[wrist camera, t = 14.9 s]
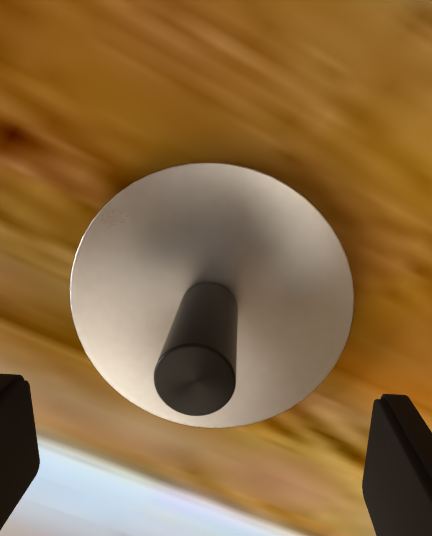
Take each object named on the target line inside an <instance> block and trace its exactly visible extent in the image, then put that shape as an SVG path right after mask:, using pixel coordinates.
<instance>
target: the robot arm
mask: <svg viewBox="0 0 432 536" xmlns="http://www.w3.org/2000/svg"><path fill="white" fill-rule="evenodd" d="M39 464H40V459H39V451H38V444H37V437H36V429H35V422H34V415H33V407H32V400H31V393H30V386H29V383H28V381H25V380H24V378H23V377H22V376H21V375H14V374H0V530H1V528H2V527H3V525H4V524H5V522H6V521H7V519H8V518H9V516H10V514H11V513H12V511H13V510H14V508H15V507H16V505H17V504H18V502H19V501H20V499H21V498H22V496H23V494H24V493H25V491H26V490H27V488H28V487H29V485H30V484H31V482H32V481H33V479H34V478H35V476H36V474H37V472H38V469H39ZM362 489H363V496H364V500H365V503H366V505H367V508H368V511H369V514H370V517H371V520H372V523H373V526H374V529H375V532H376V535H377V536H432V432H431V431H430V429H429V428H428V426H427V425H426V423H425V422H424V420H423V419H422V417H421V416H420V414H419V412H418V411H417V409H416V408H415V406H414V405H413V403H412V402H411V400H410V399H409V397H408V396H406V395H394V394H383V395H382V397H381V400H380V399H376V400H375V401H374V404H373V411H372V418H371V425H370V432H369V439H368V446H367V453H366V460H365V467H364V475H363V482H362Z"/></svg>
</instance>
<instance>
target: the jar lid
mask: <svg viewBox="0 0 432 536" xmlns="http://www.w3.org/2000/svg"><path fill="white" fill-rule="evenodd" d="M70 304H71V310H72V316H73V321H74V325H75V328H76V331H77V334H78V337H79V339H80V342H81V344H82V346H83V348H84V350H85V352H86V354H87V356H88V357H89V359H90V361H91V362H92V364H93V365H94V367H95V368H96V369H97V371H98V372H99V373H100V374H101V376H102V377H103V378H104V379H105V380H106V381H107V382H108V383H109V384H110V385H111V386H112V387H113V388H114V389H115V390H116V391H117V392H118V393H120V394H121V395H122V396H123V397H125V398H126V399H127V400H129V401H130V402H131V403H133V404H135V405H136V406H138V407H140V408H141V409H143V410H145V411H147V412H149V413H151V414H153V415H156V416H158V417H160V418H163V419H166V420H169V421H172V422H175V423H179V424H184V425H188V426H194V427H204V428H229V427H238V426H244V425H248V424H253V423H257V422H260V421H263V420H266V419H269V418H271V417H274V416H276V415H278V414H280V413H282V412H284V411H286V410H288V409H290V408H291V407H293V406H294V405H296V404H297V403H299V402H301V401H302V400H303V399H305V398H306V397H307V396H308V395H309V394H310V393H312V392H313V391H314V390H315V389H316V388H317V387H318V386H319V385H320V384H321V383H322V382H323V380H324V379H325V378H326V377H327V376H328V374H329V373H330V371H331V370H332V369H333V367H334V366H335V364H336V363H337V361H338V359H339V357H340V355H341V353H342V351H343V349H344V347H345V344H346V341H347V338H348V335H349V333H350V329H351V324H352V318H353V312H354V288H353V278H352V274H351V270H350V265H349V261H348V258H347V256H346V253H345V251H344V248H343V246H342V243H341V242H340V240H339V238H338V236H337V235H336V233H335V231H334V229H333V228H332V226H331V225H330V223H329V222H328V221H327V220H326V218H325V217H324V216H323V215H322V213H321V212H320V211H319V210H318V209H317V208H316V207H315V206H314V205H313V204H312V203H311V202H310V201H309V200H308V199H307V198H306V197H305V196H303V195H302V194H301V193H299V192H298V191H296V190H295V189H294V188H292V187H291V186H289V185H288V184H286V183H285V182H283V181H281V180H279V179H277V178H275V177H273V176H271V175H269V174H267V173H264V172H261V171H259V170H256V169H253V168H250V167H246V166H241V165H237V164H232V163H222V162H195V163H187V164H182V165H176V166H171V167H168V168H165V169H162V170H159V171H156V172H153V173H151V174H149V175H147V176H145V177H143V178H141V179H139V180H137V181H135V182H133V183H131V184H130V185H129V186H127V187H126V188H124V189H123V190H121V191H120V192H118V193H117V194H116V195H115V196H114V197H113V198H112V199H111V200H110V201H109V202H107V203H106V204H105V205H104V206H103V207H102V209H101V210H100V211H99V212H98V214H97V215H96V216H95V217H94V219H93V220H92V221H91V223H90V225H89V226H88V228H87V230H86V232H85V233H84V235H83V237H82V239H81V242H80V244H79V247H78V249H77V251H76V255H75V259H74V263H73V267H72V272H71V281H70Z"/></svg>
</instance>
